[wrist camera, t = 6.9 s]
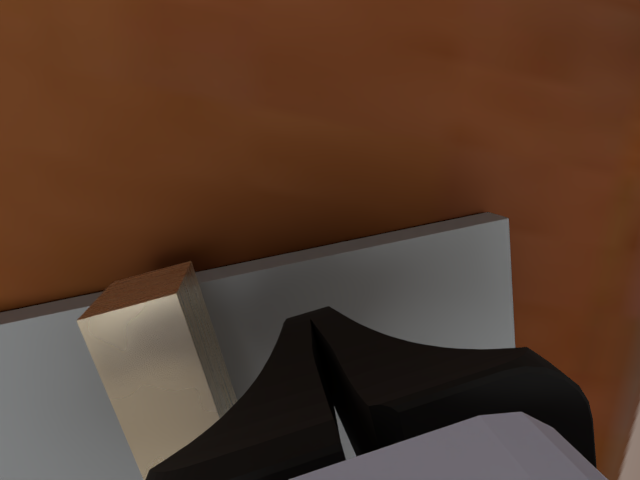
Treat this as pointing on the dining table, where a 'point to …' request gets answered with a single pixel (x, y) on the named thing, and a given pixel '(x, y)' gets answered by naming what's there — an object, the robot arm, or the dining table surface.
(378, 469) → the robot arm
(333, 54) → the dining table surface
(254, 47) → the dining table surface
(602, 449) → the dining table surface
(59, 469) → the lock plate
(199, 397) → the door lever handle
